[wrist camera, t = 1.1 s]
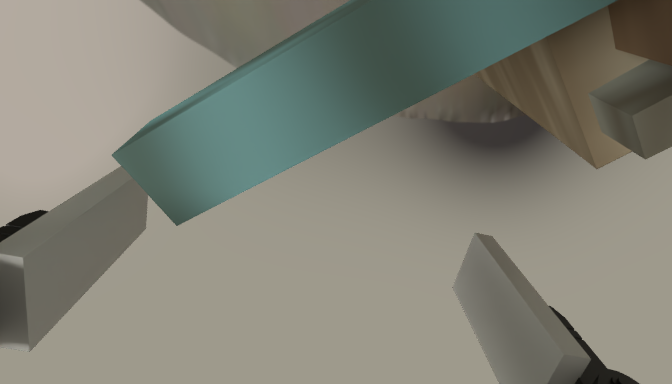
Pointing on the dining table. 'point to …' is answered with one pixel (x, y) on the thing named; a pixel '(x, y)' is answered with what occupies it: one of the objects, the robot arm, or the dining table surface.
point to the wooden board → (589, 91)
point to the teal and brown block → (349, 86)
